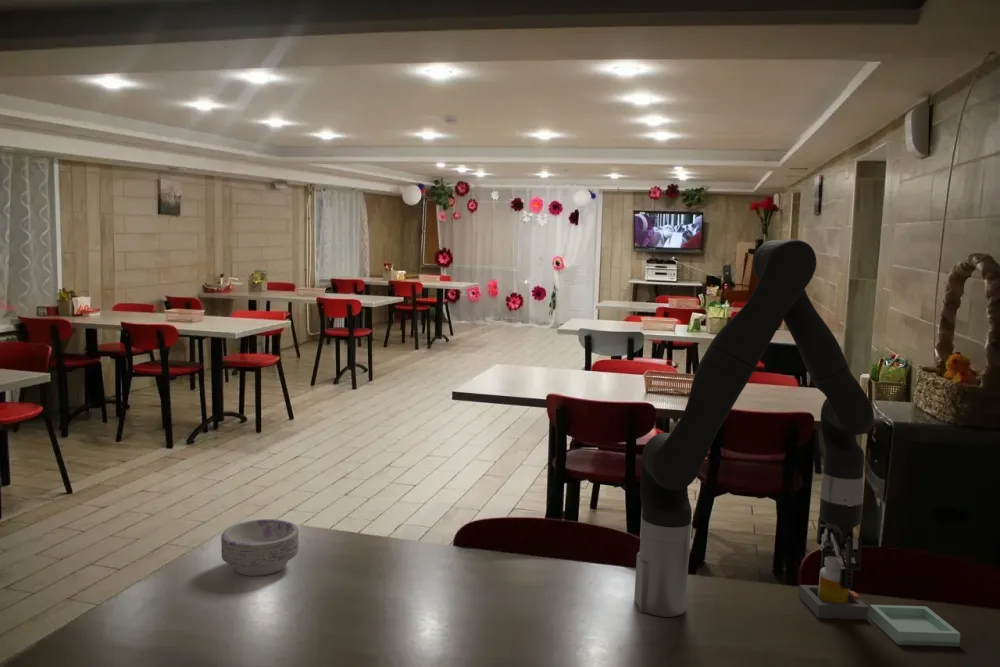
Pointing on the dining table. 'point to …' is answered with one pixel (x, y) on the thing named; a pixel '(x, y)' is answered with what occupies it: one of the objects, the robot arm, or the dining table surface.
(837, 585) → the supplement bottle
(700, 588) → the dining table surface
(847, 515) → the robot arm
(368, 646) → the dining table surface
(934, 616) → the tray
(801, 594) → the socket collar
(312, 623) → the dining table surface
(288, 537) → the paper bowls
